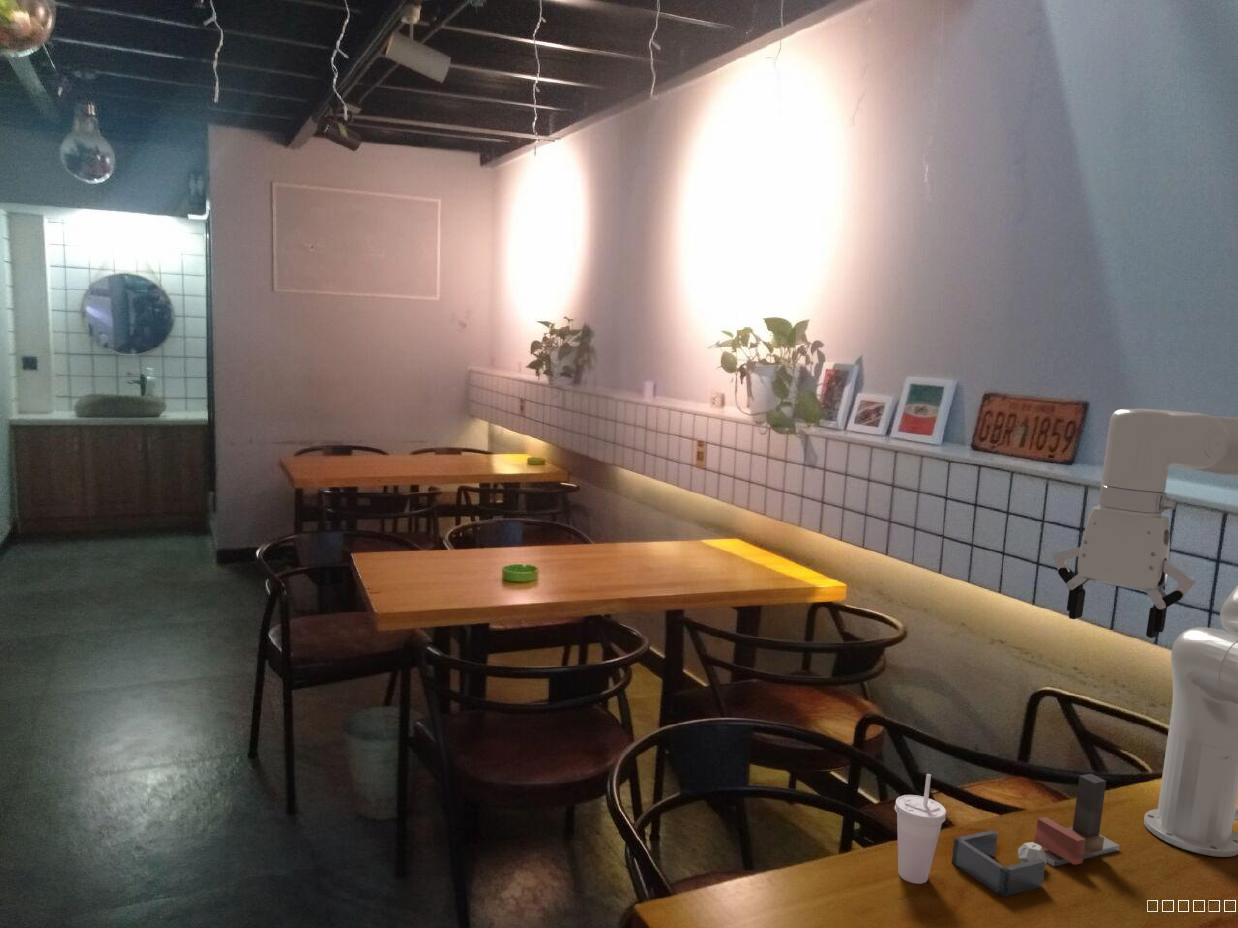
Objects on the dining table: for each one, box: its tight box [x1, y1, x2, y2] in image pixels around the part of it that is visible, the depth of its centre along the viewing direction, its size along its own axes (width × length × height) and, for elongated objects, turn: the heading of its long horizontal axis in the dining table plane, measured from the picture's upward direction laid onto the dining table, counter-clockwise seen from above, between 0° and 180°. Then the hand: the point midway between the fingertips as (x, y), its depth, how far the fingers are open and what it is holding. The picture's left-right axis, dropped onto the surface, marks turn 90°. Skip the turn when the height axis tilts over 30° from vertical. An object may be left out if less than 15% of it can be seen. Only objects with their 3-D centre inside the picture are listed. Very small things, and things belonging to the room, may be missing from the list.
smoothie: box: [894, 773, 947, 885], centre depth 120 cm, size 6×6×14 cm
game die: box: [1017, 841, 1048, 866], centre depth 125 cm, size 4×4×3 cm
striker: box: [1034, 773, 1107, 865], centre depth 128 cm, size 8×6×10 cm
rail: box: [1044, 836, 1120, 867], centre depth 129 cm, size 14×2×1 cm, turn 116°
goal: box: [951, 829, 1046, 898], centre depth 122 cm, size 7×9×4 cm
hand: (1112, 626), depth 124 cm, fingers open, 9 cm apart
